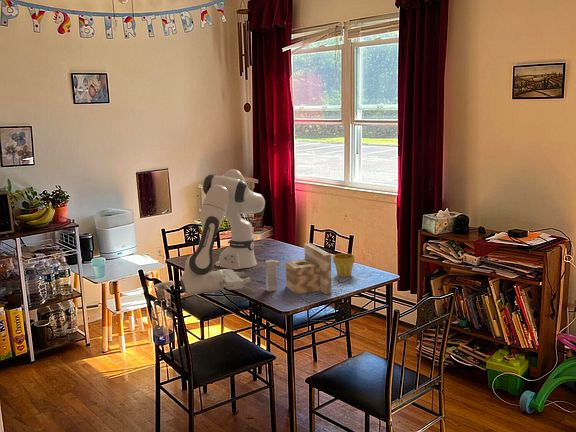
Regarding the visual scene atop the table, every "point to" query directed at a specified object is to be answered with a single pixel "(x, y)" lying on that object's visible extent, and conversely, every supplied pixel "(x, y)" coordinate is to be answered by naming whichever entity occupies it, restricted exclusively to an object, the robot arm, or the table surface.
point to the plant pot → (343, 264)
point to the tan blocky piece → (310, 272)
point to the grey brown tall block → (271, 274)
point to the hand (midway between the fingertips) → (247, 276)
